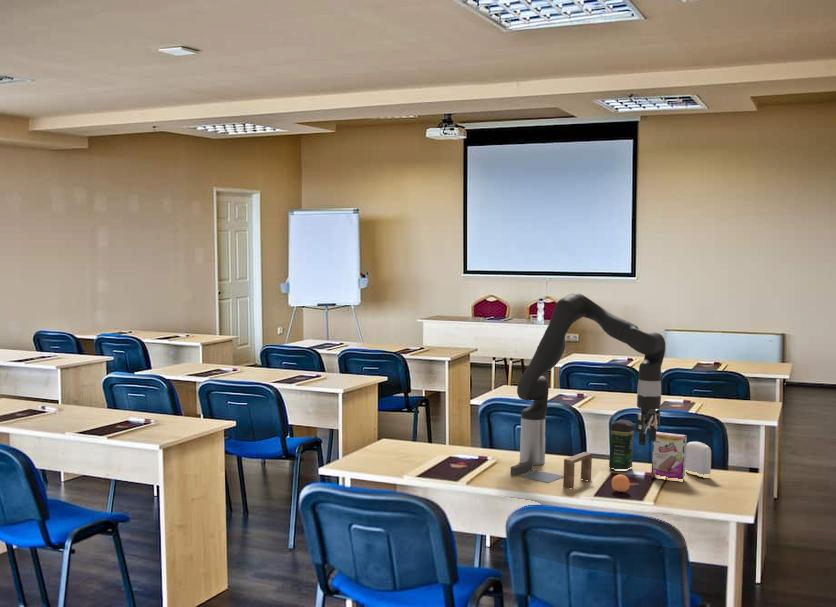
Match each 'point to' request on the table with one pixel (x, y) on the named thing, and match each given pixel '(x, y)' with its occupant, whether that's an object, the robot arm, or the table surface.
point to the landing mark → (541, 476)
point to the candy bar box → (669, 455)
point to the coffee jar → (621, 444)
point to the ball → (620, 483)
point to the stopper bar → (521, 468)
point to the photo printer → (698, 458)
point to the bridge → (569, 468)
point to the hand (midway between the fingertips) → (647, 442)
